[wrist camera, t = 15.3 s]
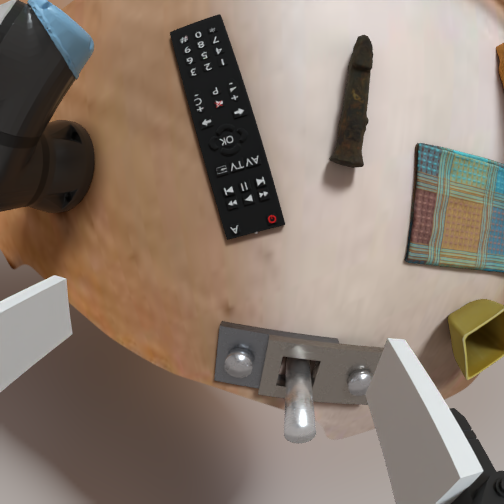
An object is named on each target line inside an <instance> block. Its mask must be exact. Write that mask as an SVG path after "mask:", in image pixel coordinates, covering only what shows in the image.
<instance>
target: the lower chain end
mask: <svg viewBox="0 0 504 504" xmlns="http://www.w3.org/2000/svg"><path fill="white" fill-rule="evenodd" d="M269 335H277V336H283V337H290V338H297V339H304V340H312V341H320V342H328V343H337V344H339V341H338V339H336V338H328V337H320V336H312V335H305V334H297V333H290V332H283V331H277V330H270V329H264V328H258V327H252V326H246V325H240V324H235V323H229V322H224V321H222V322H221V324H220V328H219V338H218V348H217V358H216V369H215V379H214V380H215V381H220V382H225V383H230V384H236V385H241V386H247V387H253V388H259V386H260V381H261V376H262V371H263V366H264V361H265V356H266V350H267V345H268V340H269ZM317 364H318V361H316V362H315V366H314V369H313V372H312V376H311V383H312V380H313V377H314V374H315V370H316V367H317ZM277 380H283V381H286V375H281V374H279V375H278V379H277Z"/></svg>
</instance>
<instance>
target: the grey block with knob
mask: <svg viewBox="0 0 504 504" xmlns="http://www.w3.org/2000/svg"><path fill="white" fill-rule="evenodd" d="M383 349H384V348H379V347H367V346H356V345H347V344H337V343H328V342H320V341H312V340H304V339H297V338H290V337H283V336H277V335H269V340H268V345H267V350H266V356H265V361H264V366H263V371H262V376H261V381H260V386H259V392H258V395H265V396H272V397H279V398H285V390H286V381H283V380H277V379H278V375H279V370H280V366H281V362H282V357H283V356H285V357H292V358H300V359H308V360H316V361H318V364H317V367H316V370H315V374H314V377H313V380H312V383H311V384H312V394H313V401H315V402H326V403H341V404H362V405H368V402H367V398H366V395H365V394H366V392H367V389H368V387H369V385H370V382H371V380H372V378H373V375H374V373H375V370H376V368H377V365H378V363H379V360H380V357H381V355H382V352H383Z"/></svg>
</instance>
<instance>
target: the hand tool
mask: <svg viewBox="0 0 504 504" xmlns="http://www.w3.org/2000/svg"><path fill="white" fill-rule="evenodd" d="M372 58H373V52H372V44H371V41H370V39H369V38H368V36H366V35H362V36H358V38H357V41H356V44H355V46H354V48H353V53H352V57H351V60H350V63H349V66H348V79H347V84H346V90H345V96H344V103H343V110H342V114H341V119H340V123H339V131H338V139H337V145H336V149H335V153H334V155H333V156H332V157H331V158H329V159H330V161H333V162H335V163H338V164H341V165H345V166H348V167H353V168H354V167H363V165H364V164H363V159H362V151H361V150H362V143H363V136H364V133H365V130H366V125H367V124H368V118H367V115H366V112H367V104H368V93H369V81H370V70H371V69H372V63H373V60H372Z"/></svg>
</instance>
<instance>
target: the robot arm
mask: <svg viewBox="0 0 504 504" xmlns="http://www.w3.org/2000/svg"><path fill="white" fill-rule="evenodd" d="M93 50H94V42H93V40H92V38H91V37H90V35H89V34H88V33H87V32H86V31H85V30H84V29H83V28H82V27H80V26H79V25H78V24H77V23H76V22H75V21H74V20H73V19H71V18H70V17H69V16H68V15H67V14H65V13H64V12H63V11H62V10H60V9H59V8H57V7H56V6H55V5H53V4H52V3H50V2H49V1H47V0H28V4H25V3H23V2H21V1H19V0H11V1H9V2H6V3H4V4H1V5H0V212H1V211H6V210H11V209H16V208H20V207H26V206H28V207H32V208H35V209H38V210H41V211H44V212H48V213H58V212H64V211H68V210H70V209H72V208H73V207H75V206H76V205H77V204H78V203H79V202H80V201H81V200H82V199H83V197H84V196H85V194H86V192H87V190H88V188H89V186H90V183H91V180H92V176H93V171H94V149H93V144H92V141H91V138H90V136H89V134H88V133H87V131H86V130H85V129H84V128H83V127H82V126H81V125H79V124H78V123H75V122H71V121H66V120H57V121H53V122H50V123H49V121H50V119H51V117H52V116H53V114H54V112H55V110H56V109H57V107H58V105H59V104H60V102H61V101H62V99H63V97H64V96H65V94H66V93H67V91H68V90H69V88H70V87H71V85H72V84H73V82H74V81H75V80H77V79H78V77H79V73H80V72H81V70H82V68H83V67H84V65H85V64H86V62H87V61H88V59H89V58H90V57H91V55H92V53H93ZM70 335H72V328H71V320H70V312H69V304H68V293H67V281H66V278H62V277H59V276H56V275H54V276H52V277H49V278H47V279H45V280H43V281H41V282H39V283H37V284H35V285H33V286H30V287H28V288H26V289H24V290H22V291H20V292H18V293H16V294H14V295H12V296H10V297H8V298H6V299H4V300H2V301H0V392H1V391H2V390H4V389H5V388H6V387H7V386H8V385H9V384H11V383H12V382H13V381H14V380H15V379H17V378H18V377H19V376H20V375H21V374H23V373H24V372H25V371H26V370H28V369H29V368H30V367H31V366H33V365H34V364H35V363H36V362H38V361H39V360H40V359H41V358H43V357H44V356H45V355H46V354H48V353H49V352H50V351H51V350H52V349H54V348H55V347H56V346H58V345H59V344H60V343H62V342H63V341H64V340H65V339H67V338H68V337H69V336H70ZM365 395H366V398H367V402H368V405H369V408H370V411H371V414H372V418H373V421H374V424H375V428H376V431H377V434H378V438H379V441H380V445H381V448H382V452H383V456H384V459H385V462H386V466H387V470H388V474H389V478H390V482H391V486H392V490H393V494H394V498H395V502H396V504H504V471H498V472H496V470H495V469H494V467H493V465H492V463H491V461H490V460H489V458H488V456H487V454H486V452H485V451H484V449H483V447H482V445H481V444H480V442H479V440H478V439H476V435H475V433H474V432H473V430H472V431H471V427H470V425H469V423H468V422H467V420H466V418H465V417H464V416H463V415H461V414H460V413H459V412H458V411H457V410H456V409H454V408H452V409H449V408H448V406H447V404H446V403H445V401H444V399H443V398H442V396H441V394H440V393H439V391H438V390H437V388H436V386H435V385H434V383H433V382H432V380H431V378H430V377H429V375H428V374H427V372H426V371H425V369H424V368H423V366H422V365H421V363H420V361H419V360H418V358H417V357H416V355H415V354H414V352H413V351H412V349H411V348H410V347H409V345H408V344H407V342H406V341H405V339H392V338H387V341H386V344H385V347H384V349H383V352H382V355H381V357H380V360H379V363H378V365H377V368H376V370H375V373H374V375H373V378H372V380H371V382H370V385H369V387H368V389H367V392H366V394H365Z"/></svg>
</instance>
